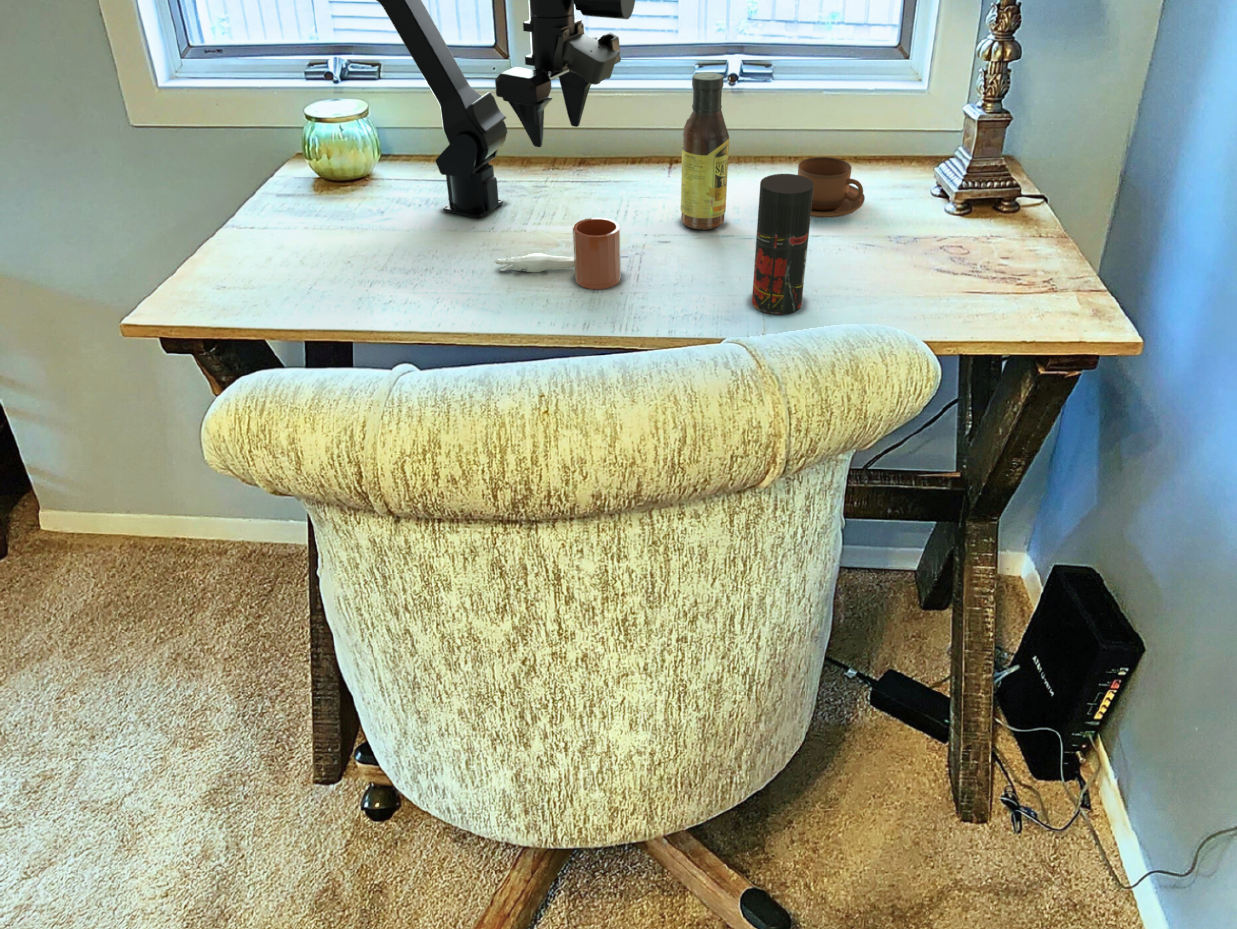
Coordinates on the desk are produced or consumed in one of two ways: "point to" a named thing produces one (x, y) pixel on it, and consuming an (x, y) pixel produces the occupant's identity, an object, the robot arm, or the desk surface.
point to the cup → (597, 253)
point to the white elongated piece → (536, 262)
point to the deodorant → (781, 243)
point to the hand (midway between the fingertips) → (556, 136)
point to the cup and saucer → (831, 187)
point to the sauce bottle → (705, 156)
